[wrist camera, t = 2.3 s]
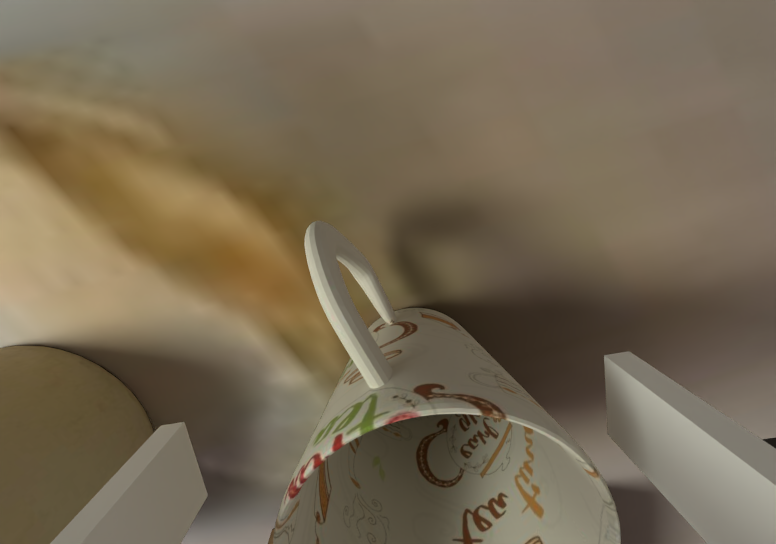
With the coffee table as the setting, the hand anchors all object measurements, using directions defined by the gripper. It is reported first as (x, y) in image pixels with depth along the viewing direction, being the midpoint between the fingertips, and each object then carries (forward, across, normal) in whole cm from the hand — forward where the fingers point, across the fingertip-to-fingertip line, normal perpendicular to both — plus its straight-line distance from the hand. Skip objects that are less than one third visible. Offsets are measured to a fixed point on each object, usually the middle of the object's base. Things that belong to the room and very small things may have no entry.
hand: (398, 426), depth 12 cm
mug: (+7, 0, +1) cm, 7 cm away
